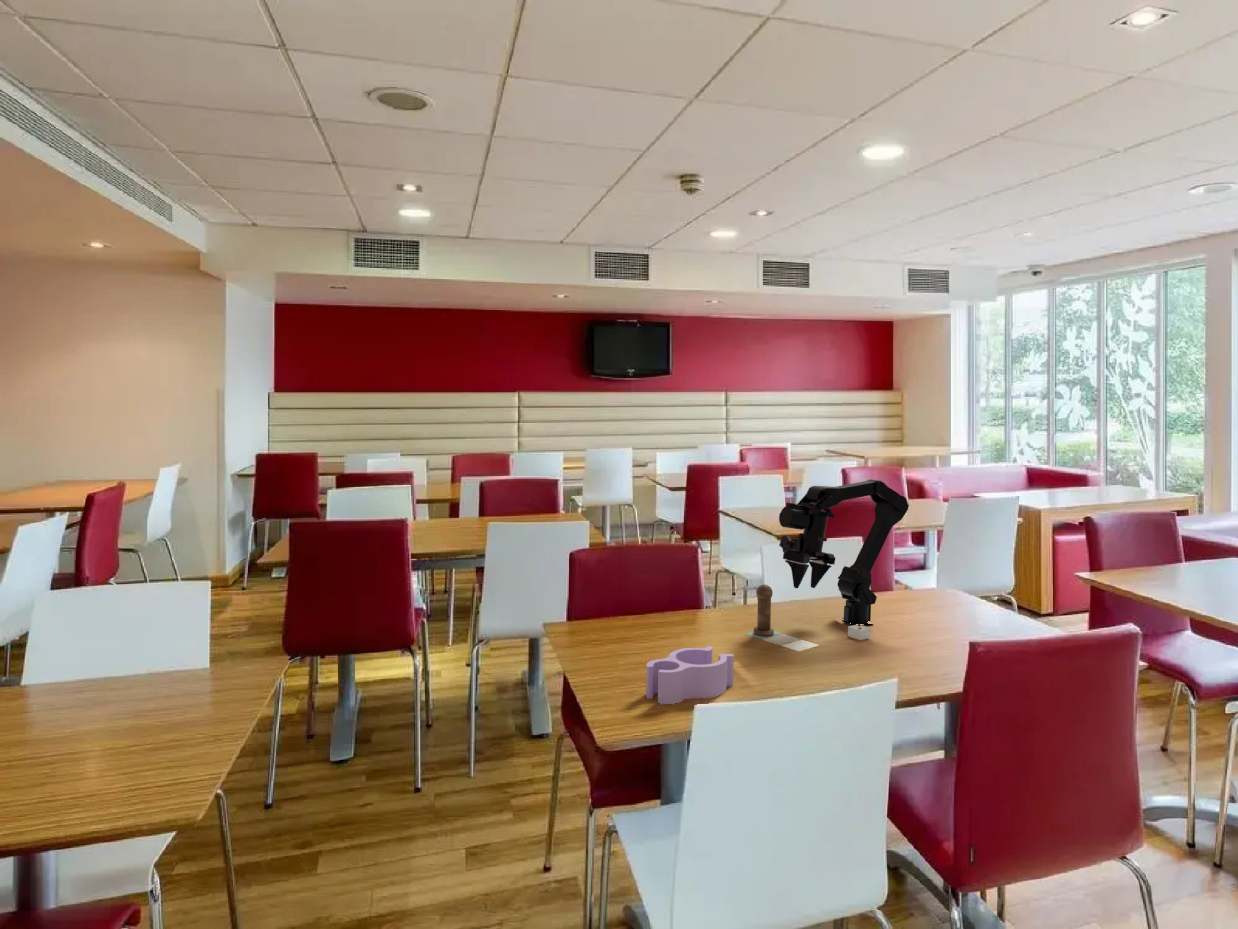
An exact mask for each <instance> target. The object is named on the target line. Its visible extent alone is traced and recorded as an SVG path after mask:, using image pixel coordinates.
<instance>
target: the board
mask: <svg viewBox="0 0 1238 929" xmlns="http://www.w3.org/2000/svg"><path fill="white" fill-rule="evenodd" d="M746 635H747V636H750V637H754V638H755V639H760V640H762V641H766V642H768V643H772V644H775V645H777V646H780V647H784V648H787V649H791V650H792V651H796V652H802V651H805V650H806V651H807V650H808V649H811V648H815V647H818V646H820V645H819V644H817V643H813V642H810V641H807V640H803V639H800V638H798V637H794V636H791V635H788V634H784V633H780V632H778V631H775V630H774V635H773V636H769V637H762V636H757V635H755V634H754V631H751V632H746Z"/></svg>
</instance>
